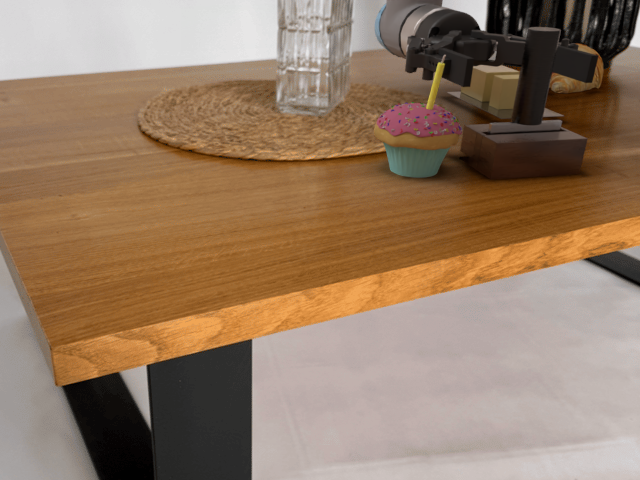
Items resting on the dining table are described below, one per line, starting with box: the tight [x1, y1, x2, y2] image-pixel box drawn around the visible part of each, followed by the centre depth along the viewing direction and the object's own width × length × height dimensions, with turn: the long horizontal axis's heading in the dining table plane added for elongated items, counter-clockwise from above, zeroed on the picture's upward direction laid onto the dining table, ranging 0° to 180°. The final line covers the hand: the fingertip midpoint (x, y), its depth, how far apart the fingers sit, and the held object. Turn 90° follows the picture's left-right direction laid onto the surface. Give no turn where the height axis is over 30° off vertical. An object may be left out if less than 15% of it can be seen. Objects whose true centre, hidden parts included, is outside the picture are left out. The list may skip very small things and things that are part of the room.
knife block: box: [458, 123, 589, 180], centre depth 72 cm, size 10×7×4 cm
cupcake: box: [373, 55, 463, 179], centre depth 69 cm, size 9×8×12 cm
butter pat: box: [489, 75, 519, 110], centre depth 92 cm, size 2×5×4 cm, turn 101°
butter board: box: [446, 65, 565, 120], centre depth 94 cm, size 16×9×5 cm, turn 11°
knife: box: [488, 26, 563, 135], centre depth 70 cm, size 8×3×14 cm, turn 101°
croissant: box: [549, 42, 605, 94], centre depth 109 cm, size 21×10×8 cm, turn 154°
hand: (531, 71), depth 69 cm, fingers open, 13 cm apart
